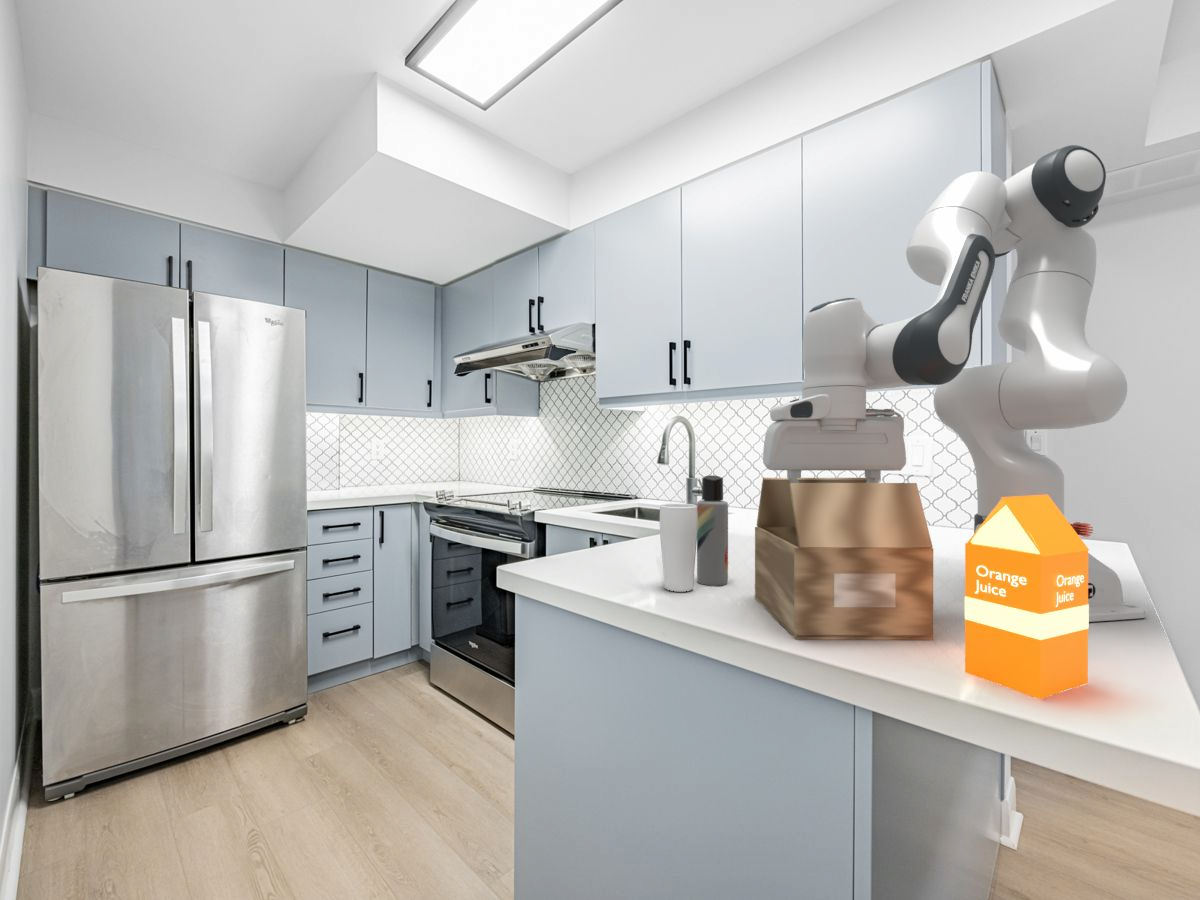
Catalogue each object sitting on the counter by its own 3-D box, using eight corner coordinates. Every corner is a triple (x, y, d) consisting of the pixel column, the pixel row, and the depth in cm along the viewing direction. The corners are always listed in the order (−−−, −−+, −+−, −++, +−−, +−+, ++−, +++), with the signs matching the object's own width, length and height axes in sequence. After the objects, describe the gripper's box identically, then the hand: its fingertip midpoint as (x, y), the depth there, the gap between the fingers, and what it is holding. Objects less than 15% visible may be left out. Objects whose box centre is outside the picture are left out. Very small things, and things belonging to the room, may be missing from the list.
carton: (862, 598, 93) (862, 526, 93) (933, 640, 73) (933, 548, 73) (754, 598, 93) (754, 526, 93) (796, 639, 73) (796, 548, 73)
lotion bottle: (725, 579, 107) (726, 475, 107) (729, 586, 101) (730, 476, 101) (696, 578, 107) (696, 475, 107) (698, 585, 102) (698, 476, 102)
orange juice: (963, 671, 63) (963, 494, 63) (1011, 659, 66) (1011, 492, 66) (1042, 700, 56) (1042, 500, 55) (1090, 684, 59) (1091, 497, 59)
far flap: (860, 526, 93) (859, 524, 93) (871, 479, 89) (869, 477, 90) (757, 526, 93) (756, 524, 94) (763, 479, 89) (762, 477, 90)
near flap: (914, 484, 77) (916, 482, 76) (930, 548, 73) (932, 547, 72) (789, 484, 77) (790, 482, 76) (798, 548, 73) (800, 547, 73)
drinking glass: (674, 582, 104) (674, 502, 104) (705, 589, 99) (705, 505, 99) (651, 589, 99) (651, 505, 99) (683, 596, 94) (683, 508, 94)
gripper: (892, 410, 86) (892, 499, 86) (760, 410, 86) (759, 499, 86) (915, 407, 80) (914, 503, 80) (772, 407, 80) (771, 503, 80)
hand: (833, 501), depth 83 cm, fingers open, 8 cm apart
